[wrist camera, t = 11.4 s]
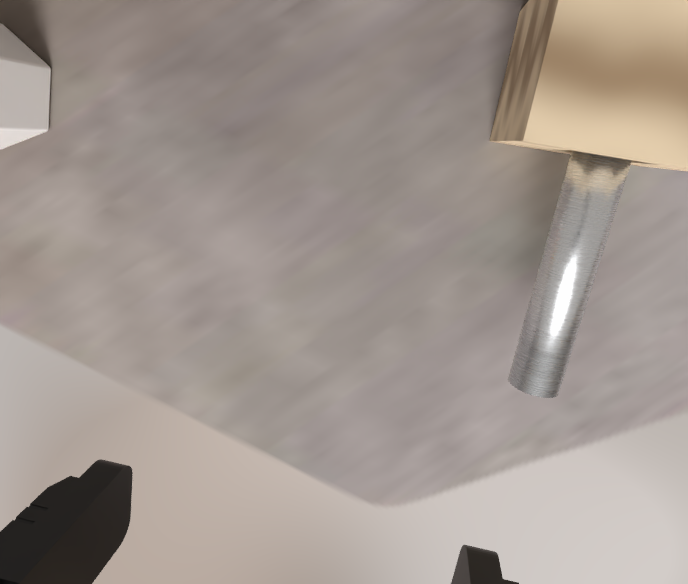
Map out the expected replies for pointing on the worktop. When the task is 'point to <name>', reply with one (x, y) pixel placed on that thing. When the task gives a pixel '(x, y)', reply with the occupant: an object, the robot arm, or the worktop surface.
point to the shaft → (567, 271)
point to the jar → (22, 91)
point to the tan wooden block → (599, 80)
